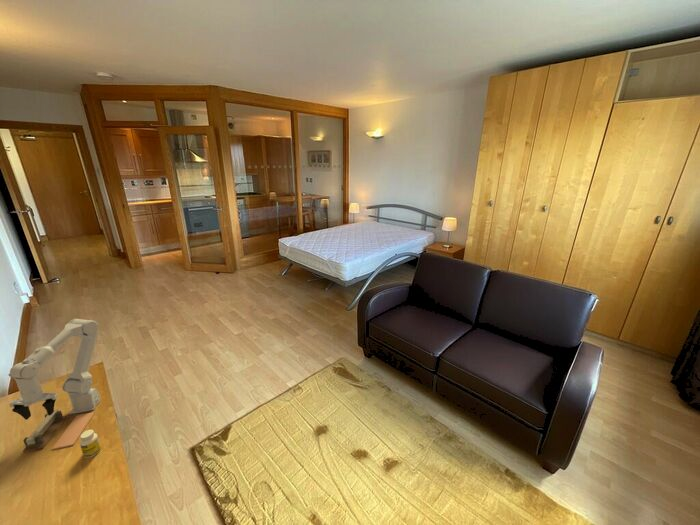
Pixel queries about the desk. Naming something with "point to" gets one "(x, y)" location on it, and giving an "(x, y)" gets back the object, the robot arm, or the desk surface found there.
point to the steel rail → (41, 428)
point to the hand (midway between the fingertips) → (39, 415)
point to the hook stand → (45, 434)
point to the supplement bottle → (89, 443)
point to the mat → (73, 431)
